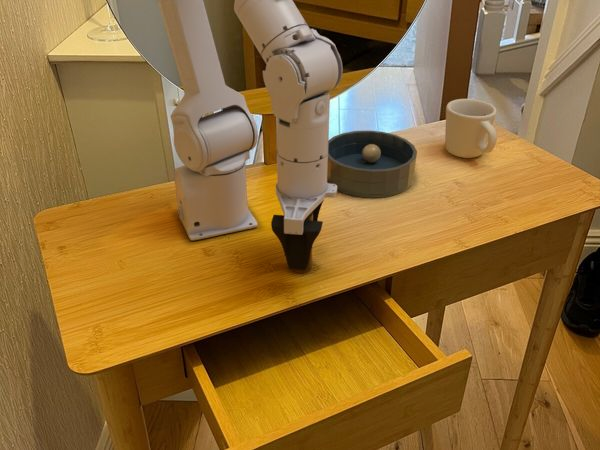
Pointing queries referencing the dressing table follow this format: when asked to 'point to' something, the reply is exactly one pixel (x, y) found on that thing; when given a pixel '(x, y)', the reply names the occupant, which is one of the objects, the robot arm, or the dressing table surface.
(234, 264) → the dressing table surface
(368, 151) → the bead
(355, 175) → the bowl
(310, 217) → the stick
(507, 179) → the dressing table surface
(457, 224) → the dressing table surface
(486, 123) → the cup
